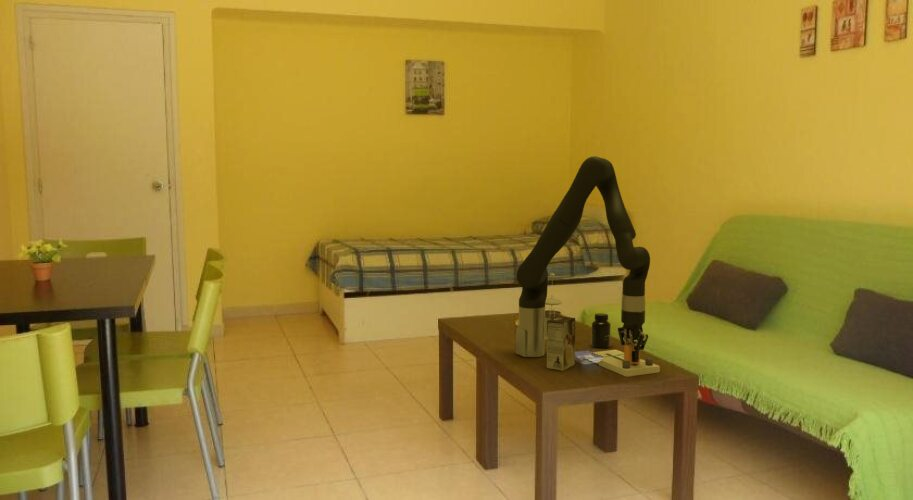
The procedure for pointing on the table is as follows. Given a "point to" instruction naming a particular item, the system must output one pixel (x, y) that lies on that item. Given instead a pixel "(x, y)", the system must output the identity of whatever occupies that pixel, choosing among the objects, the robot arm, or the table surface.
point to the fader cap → (629, 354)
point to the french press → (549, 313)
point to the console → (626, 364)
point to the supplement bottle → (600, 331)
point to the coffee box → (560, 343)
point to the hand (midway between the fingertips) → (631, 360)
